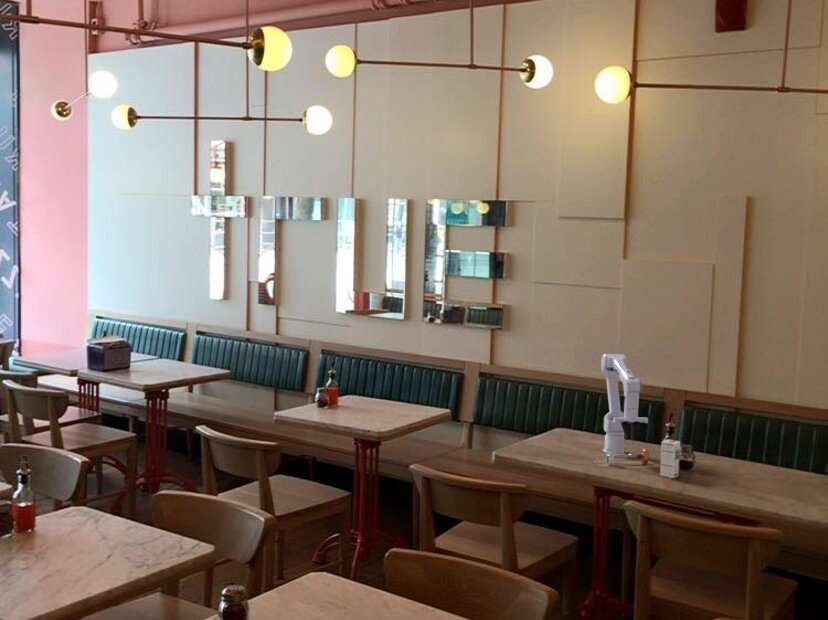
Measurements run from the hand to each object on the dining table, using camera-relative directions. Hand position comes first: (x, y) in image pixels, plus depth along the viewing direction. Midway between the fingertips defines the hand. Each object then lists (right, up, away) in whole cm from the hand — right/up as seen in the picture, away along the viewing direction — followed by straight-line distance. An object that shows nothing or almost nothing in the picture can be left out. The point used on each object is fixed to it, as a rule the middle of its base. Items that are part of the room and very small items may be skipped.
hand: (629, 439), depth 398 cm
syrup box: (+12, -13, -17) cm, 24 cm away
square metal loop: (-9, -10, -3) cm, 14 cm away
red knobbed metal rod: (-2, -10, -2) cm, 10 cm away
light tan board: (-2, -11, -2) cm, 11 cm away
